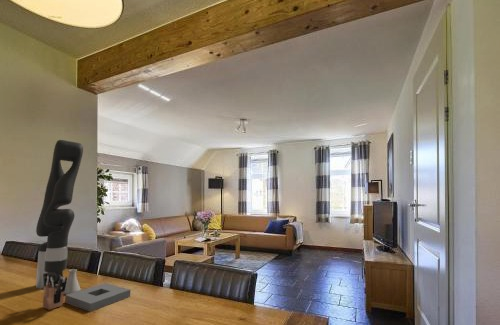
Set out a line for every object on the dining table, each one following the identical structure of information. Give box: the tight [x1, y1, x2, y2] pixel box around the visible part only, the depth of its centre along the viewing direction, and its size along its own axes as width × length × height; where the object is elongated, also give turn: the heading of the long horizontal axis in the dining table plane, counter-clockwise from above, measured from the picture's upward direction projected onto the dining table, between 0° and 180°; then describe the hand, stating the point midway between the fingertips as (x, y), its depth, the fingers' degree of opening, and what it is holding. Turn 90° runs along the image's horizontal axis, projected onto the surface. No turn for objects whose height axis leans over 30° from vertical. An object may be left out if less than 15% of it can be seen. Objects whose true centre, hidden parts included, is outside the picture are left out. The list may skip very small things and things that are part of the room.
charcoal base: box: [64, 282, 131, 313], centre depth 121 cm, size 18×18×3 cm
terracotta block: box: [42, 284, 65, 311], centre depth 113 cm, size 5×5×8 cm
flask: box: [64, 268, 82, 295], centre depth 130 cm, size 7×7×10 cm
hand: (53, 301), depth 113 cm, fingers closed on terracotta block, 5 cm apart
